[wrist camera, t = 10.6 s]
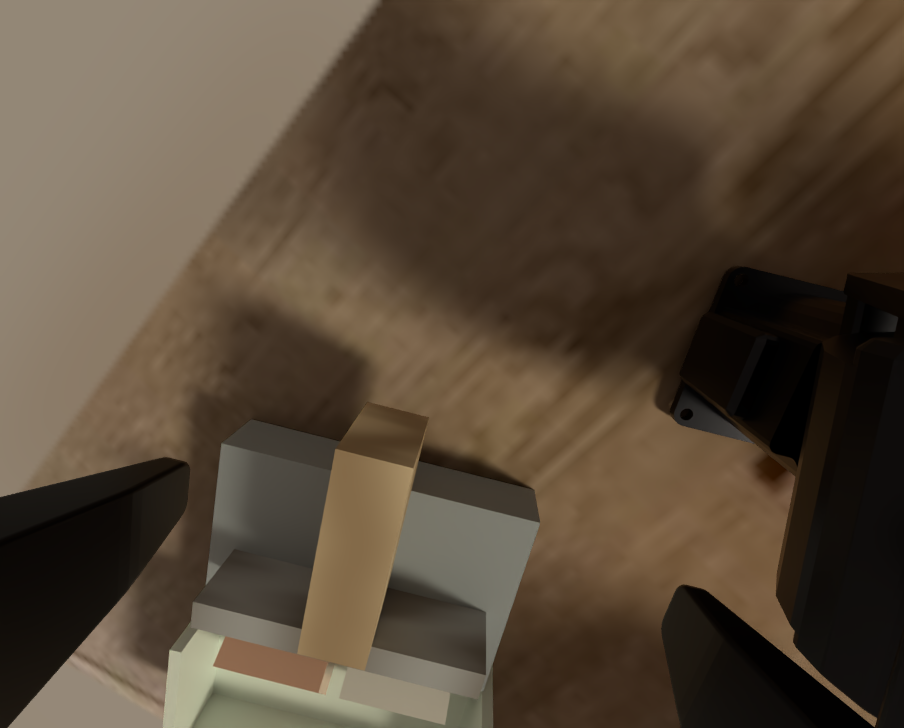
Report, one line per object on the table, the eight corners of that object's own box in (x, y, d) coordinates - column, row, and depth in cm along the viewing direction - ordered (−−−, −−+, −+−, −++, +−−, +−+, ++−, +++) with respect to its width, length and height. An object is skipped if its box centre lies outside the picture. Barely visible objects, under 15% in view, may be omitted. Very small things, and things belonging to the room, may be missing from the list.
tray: (492, 650, 24) (493, 730, 20) (457, 754, 26) (452, 844, 22) (220, 582, 24) (169, 649, 20) (206, 690, 26) (158, 770, 22)
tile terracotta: (331, 651, 21) (318, 692, 20) (336, 660, 24) (325, 695, 24) (229, 626, 21) (212, 666, 20) (249, 638, 24) (236, 672, 24)
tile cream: (452, 682, 21) (444, 724, 20) (439, 684, 24) (432, 721, 24) (350, 656, 21) (338, 698, 20) (353, 663, 24) (343, 698, 24)
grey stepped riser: (534, 490, 22) (540, 523, 19) (483, 645, 24) (483, 691, 22) (251, 419, 22) (221, 443, 19) (230, 581, 24) (201, 620, 22)
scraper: (539, 445, 18) (553, 503, 14) (479, 634, 21) (477, 726, 17) (256, 374, 18) (195, 413, 14) (231, 572, 21) (173, 650, 17)
